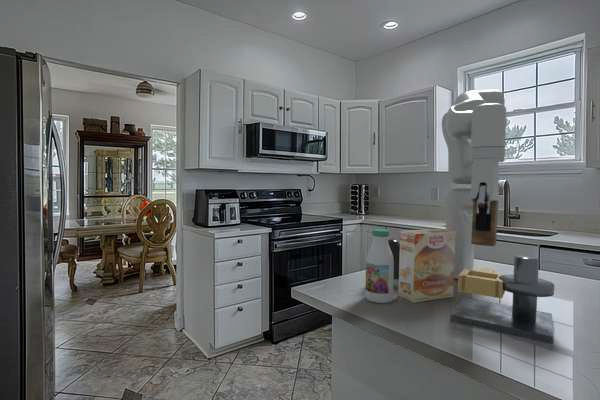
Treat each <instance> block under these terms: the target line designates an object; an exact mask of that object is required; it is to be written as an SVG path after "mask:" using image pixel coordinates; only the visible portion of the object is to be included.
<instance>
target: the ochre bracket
mask: <svg viewBox="0 0 600 400" xmlns="http://www.w3.org/2000/svg"><path fill="white" fill-rule="evenodd" d="M503 275H505V276H506V275H507V274H506V273H499V272H495V269H493V268H486V267H481V268H480V270H479V269H473V270H472V269H464V270H463V271H462V272H461V273H460V274H459V278H458V279H457V280H458V281H457V282H458V283H457V285H458V286H457V292H462V293H467V294H473V295H479V296H485V297H490V298H495V299H499V300H500V299H503V297H504V295H505V293H506V291H505V290H503V281H502V279H499V277H500V276H502V278H503ZM504 278H505V277H504Z"/></svg>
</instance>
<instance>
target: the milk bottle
mask: <svg viewBox="0 0 600 400" xmlns="http://www.w3.org/2000/svg"><path fill="white" fill-rule="evenodd" d="M371 236H372V242H371V246H370V247H369V249H368V252H367V255H366V261H365V288H364V289H365V292H364V293H365V299H366V300H367V301H369V302H371V303H375V304H388V303H392V301H393V300H394V288H393V280H394V260H393V255H392V252H391V250H390V247H389V244H388V240H389V239H390V237H389V236H390V231H389V229H382V228H376V229H375V228H374V229H372V231H371Z"/></svg>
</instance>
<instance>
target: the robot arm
mask: <svg viewBox="0 0 600 400" xmlns="http://www.w3.org/2000/svg"><path fill="white" fill-rule="evenodd" d="M505 99H506V98H505V95H504V94H503V93H502V92H501V91H500V90H498V89H485V90H469V91H465V92H463V93H461V94H459V95H458V96H457V97H456V98H455V100H454V103H453V105H452V106H451V107H449V109H448V111H447V112H445V113H444V114H443V116H442V119H441V130H442V135H443V138H444V142H445V143H446V147H447V151H448V153H447V154H448V155H447V158H448V159H447V160H448V161H447V162H448V163H447V165H448V166H447V168H448V170H447V173H448V180H449V183H450V184H451V185H455V186H465V188H463V187H462V188H461V187H460V188H452V189H450V190H449V189H448V191H446V192H445V194H444V196H443V197H444V198H443V204H444V213H445V230H449V231H454V232H456V237H455V262H454V280H458V278H459V274H460V273H461V272H462V271H463V270H464V269H472V270H474V261H475V260H474V259H475V244H471V237H472V221H471V220H470V219H469V218H468V216H473V201H474V200H476V199H477V214H476V230H478V231H490V230H491V215H490V204H491V203H490V202H492V201H494V200H498V209H500V207H499V206H500V196H499V195H500V194H499V191H500V190H499V188H500V187H499V173H500V171H499V169H500V167H499V166H500V163H502V162H503V163H504V162H505V161H506V160H505V158H506V133H507V131H506V129H507V126H508V125H507V124H508V123H507V122H508V121H507V120H508V119H507V108H506V103H505V102H506V100H505ZM466 186H470V188H467V187H466ZM485 200H488V201H485Z"/></svg>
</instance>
